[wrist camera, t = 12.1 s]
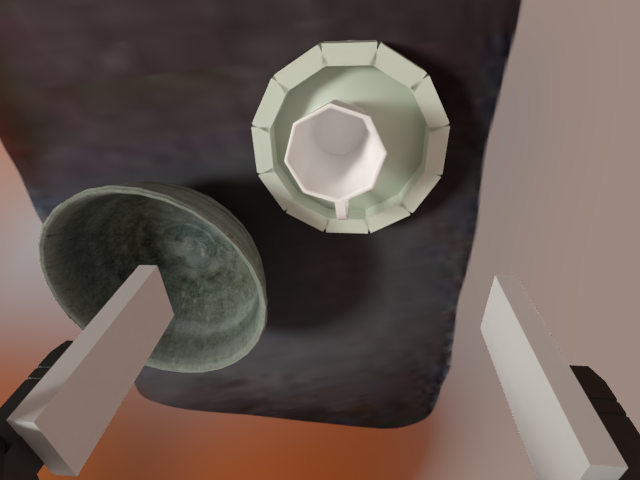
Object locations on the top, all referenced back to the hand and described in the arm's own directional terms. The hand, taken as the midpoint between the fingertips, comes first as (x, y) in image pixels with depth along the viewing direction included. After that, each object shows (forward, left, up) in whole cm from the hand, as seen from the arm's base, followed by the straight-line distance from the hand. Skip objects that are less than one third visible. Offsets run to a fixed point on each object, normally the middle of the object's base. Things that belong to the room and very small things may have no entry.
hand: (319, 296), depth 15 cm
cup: (0, 0, -21) cm, 21 cm away
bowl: (+11, -16, -22) cm, 30 cm away
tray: (0, +1, -22) cm, 22 cm away
